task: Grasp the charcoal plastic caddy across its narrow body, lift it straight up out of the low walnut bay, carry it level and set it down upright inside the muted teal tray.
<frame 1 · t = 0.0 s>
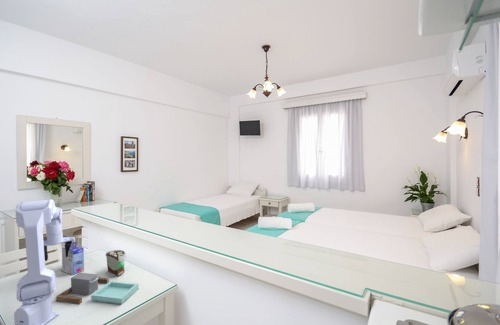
hand: (57, 257, 110), 11 cm above the table, tool pointing down, fingers open, 7 cm apart
bay: (84, 291, 101), on the table
ink cartridge box: (73, 271, 118), on the table
food container: (119, 271, 117), on the table
caddy: (85, 291, 101), on the table
tray: (116, 294, 98), on the table
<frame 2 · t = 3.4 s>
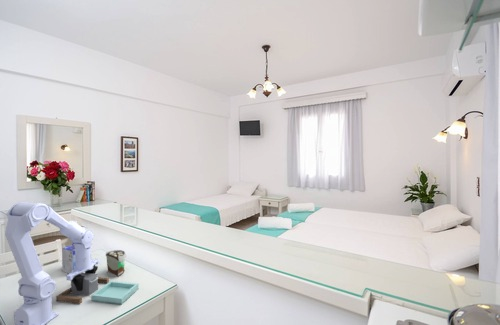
hand: (84, 287, 101), 2 cm above the table, tool pointing down, fingers closed on caddy, 4 cm apart
caddy: (85, 291, 101), on the table, touching gripper
everything else where it was.
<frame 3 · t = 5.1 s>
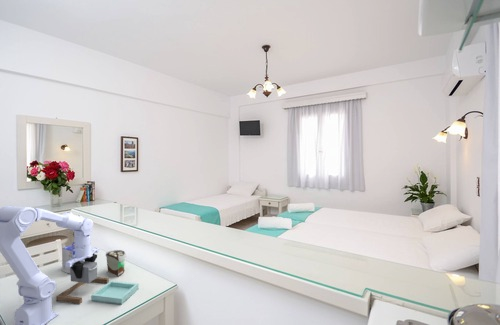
hand: (84, 274, 100), 7 cm above the table, tool pointing down, fingers closed on caddy, 4 cm apart
caddy: (84, 279, 101), point 5 cm above the table, touching gripper
everything else where it was.
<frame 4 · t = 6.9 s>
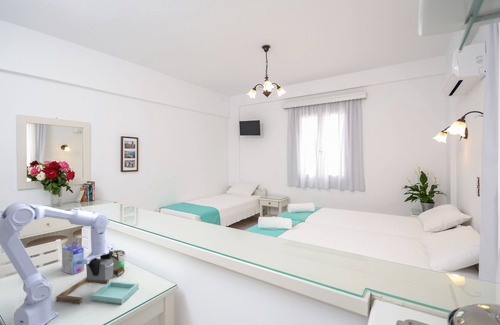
hand: (100, 272, 99), 9 cm above the table, tool pointing down, fingers closed on caddy, 4 cm apart
caddy: (100, 276, 99), point 7 cm above the table, touching gripper
everything else where it was.
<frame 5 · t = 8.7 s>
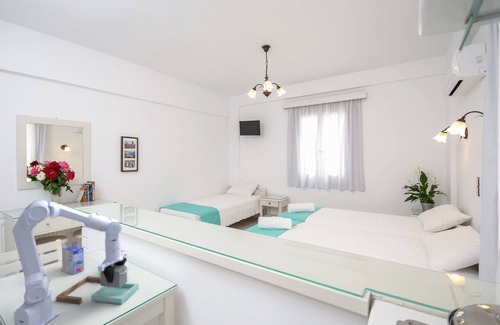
hand: (114, 278, 98), 7 cm above the table, tool pointing down, fingers closed on caddy, 4 cm apart
caddy: (114, 283, 98), point 5 cm above the table, touching gripper
everything else where it was.
when the fingers open (4 cm above the table, at t = 10.3 s): caddy stays where it is, resting on tray.
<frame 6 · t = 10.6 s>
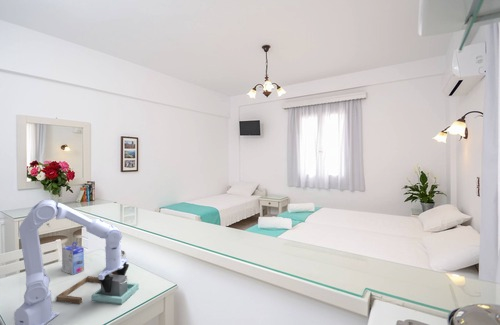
hand: (114, 286, 98), 4 cm above the table, tool pointing down, fingers open, 7 cm apart
caddy: (114, 293, 99), point 1 cm above the table, touching tray
everything else where it was.
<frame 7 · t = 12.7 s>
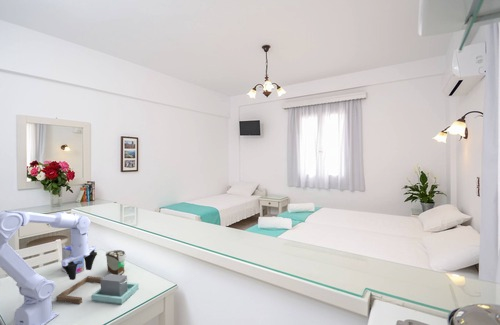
hand: (80, 274, 98), 9 cm above the table, tool pointing down, fingers open, 7 cm apart
nothing on the table moved.
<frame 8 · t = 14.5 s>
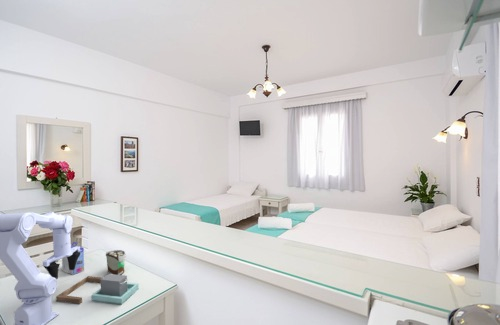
hand: (63, 274, 97), 9 cm above the table, tool pointing down, fingers open, 7 cm apart
nothing on the table moved.
at the end: caddy 0.8 cm off-centre on the tray, point 0.6 cm above the tray's base; caddy tilted 0°; the gripper is holding nothing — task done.
